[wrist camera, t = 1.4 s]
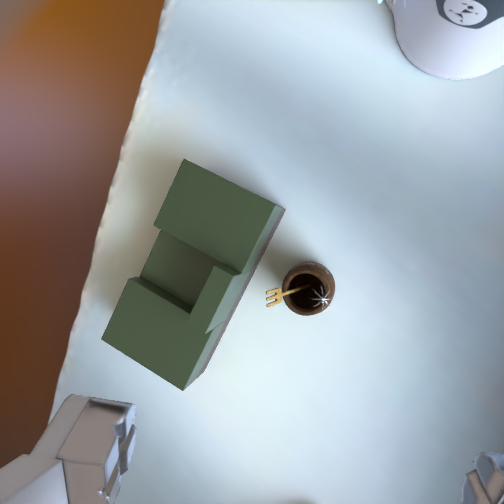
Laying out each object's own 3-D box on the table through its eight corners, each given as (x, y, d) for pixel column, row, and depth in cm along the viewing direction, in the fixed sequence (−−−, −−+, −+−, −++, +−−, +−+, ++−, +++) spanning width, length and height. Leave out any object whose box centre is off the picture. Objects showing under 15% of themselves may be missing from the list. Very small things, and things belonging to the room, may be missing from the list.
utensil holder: (336, 309, 49) (333, 330, 37) (285, 308, 50) (267, 329, 39) (335, 260, 49) (331, 267, 37) (283, 262, 50) (265, 268, 38)
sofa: (204, 169, 52) (172, 152, 42) (285, 209, 50) (271, 202, 40) (131, 327, 55) (85, 345, 46) (203, 371, 53) (171, 401, 43)
